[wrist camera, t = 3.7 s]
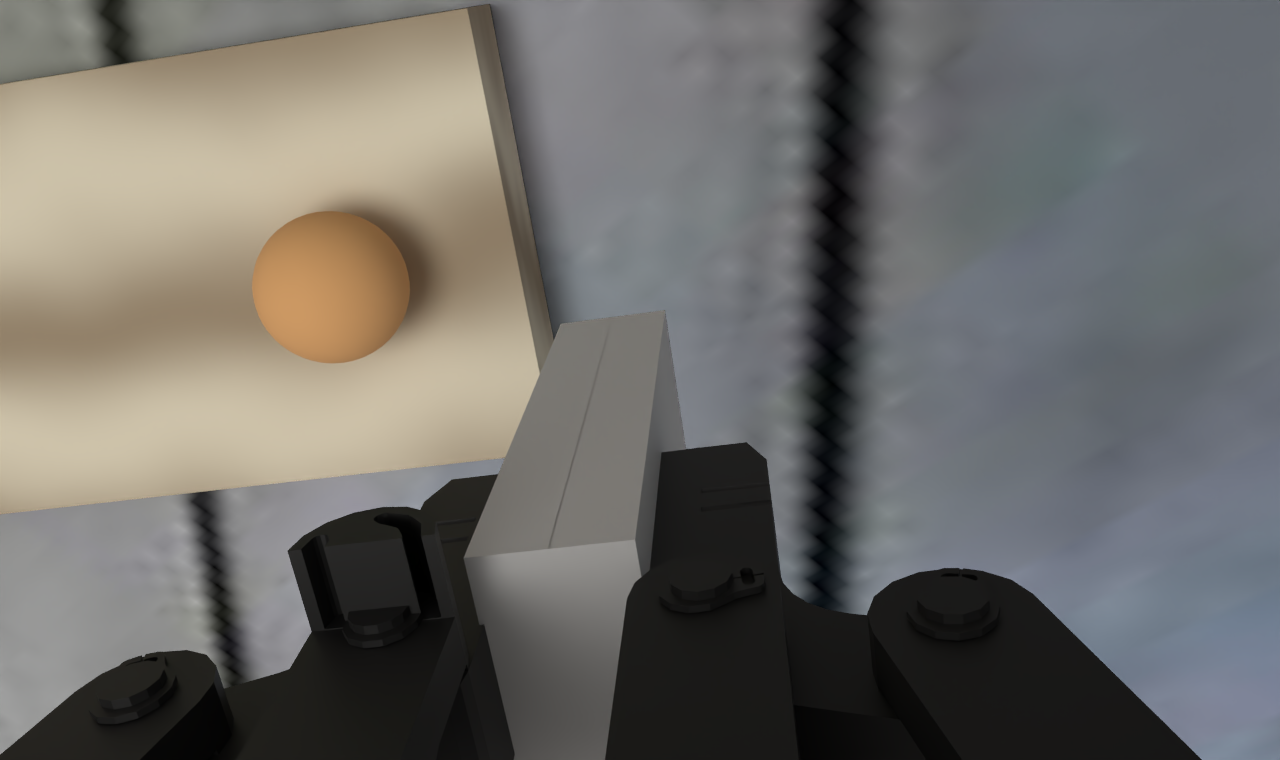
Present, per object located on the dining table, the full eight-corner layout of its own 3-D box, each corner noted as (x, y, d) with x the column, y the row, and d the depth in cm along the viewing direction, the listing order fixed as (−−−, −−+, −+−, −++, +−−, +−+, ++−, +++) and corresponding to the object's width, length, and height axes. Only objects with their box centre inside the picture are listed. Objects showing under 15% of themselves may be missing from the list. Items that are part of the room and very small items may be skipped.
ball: (269, 207, 26) (206, 242, 23) (408, 187, 26) (363, 220, 23) (306, 343, 28) (251, 394, 24) (440, 325, 27) (401, 375, 24)
